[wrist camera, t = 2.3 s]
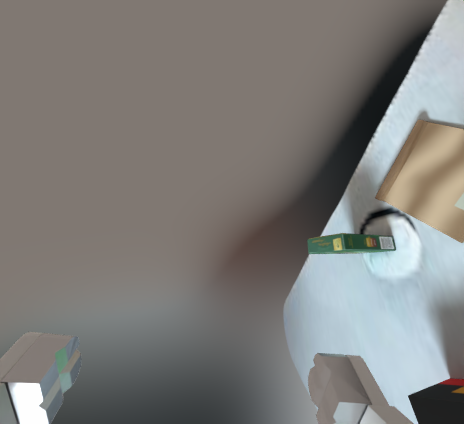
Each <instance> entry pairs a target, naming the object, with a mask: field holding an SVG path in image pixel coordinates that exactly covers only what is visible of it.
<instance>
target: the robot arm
mask: <svg viewBox="0 0 464 424" xmlns="http://www.w3.org/2000/svg"><path fill="white" fill-rule="evenodd" d="M78 346H79V339H78V337H77V336H68V335H58V334H48V333H36V332H28V333H26V334H24V335H23V336H21V338H20V339H19V340H18V341H17V342H16V343H15V344H14V345H13V346H12V347H11V348H10V349H9V350H8V352H7V353H6V354H5V355H4V356H3V357H2V358H1V359H0V424H50V423H51V422H52V420H53V418H54V416H55V415H56V413H57V411H58V409H59V408H60V406H61V404H62V403H63V393H64V392H65V391H66V390H68V389H69V388H70V387H71V386H72V385H73V383H74V382H75V380H76V378H77V376H78V373H79V370H80V367H81V360H82V358H81V353H80V352H79V351H78V350H77V347H78ZM313 361H314V364H315V366H314V367H313V368H312V369H310V373H309V376H308V386H309V392H310V396H311V399H312V401H313V402H314V404H315V405H316V406H317V407H318V408H319V409H318V412H317V415H316V416H317V420H318V423H319V424H413V423H412V422H411V421H410V420H409V419H408V418H407V417H405V416H404V415H403V414H402V413H401V412H400V411H399V410H398V409H396V408H395V407H393V406H389V404H388V402H387V400H386V399H385V397H384V395H383V393H382V392H381V390H380V388H379V386H378V385H377V383H376V381H375V379H374V377H373V376H372V374H371V372H370V370H369V369H368V367H367V365H366V363H365V361H364V360H363V358H361V357H360V356H352V355H342V354H325V353H317V354H316V355H315V357H314V360H313Z"/></svg>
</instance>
